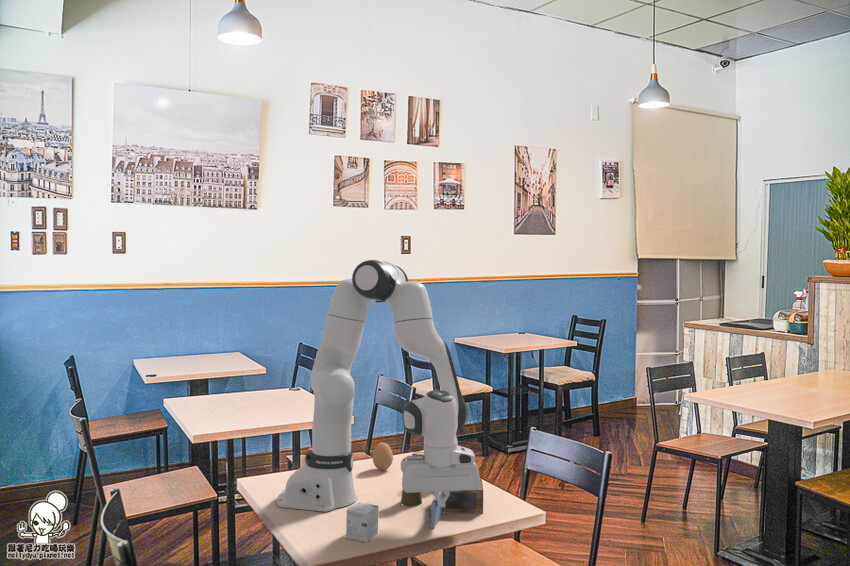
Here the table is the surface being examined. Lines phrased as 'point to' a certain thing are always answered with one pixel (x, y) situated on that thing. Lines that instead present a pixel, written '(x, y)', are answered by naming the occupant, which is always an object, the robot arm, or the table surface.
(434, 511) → the door
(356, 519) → the skincare box
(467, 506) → the case
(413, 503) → the olive green pepper mill
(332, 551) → the table surface
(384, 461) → the egg
